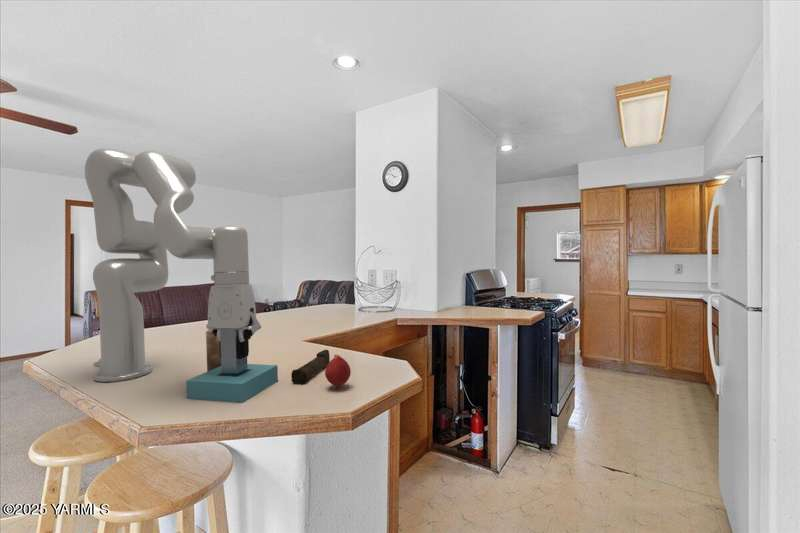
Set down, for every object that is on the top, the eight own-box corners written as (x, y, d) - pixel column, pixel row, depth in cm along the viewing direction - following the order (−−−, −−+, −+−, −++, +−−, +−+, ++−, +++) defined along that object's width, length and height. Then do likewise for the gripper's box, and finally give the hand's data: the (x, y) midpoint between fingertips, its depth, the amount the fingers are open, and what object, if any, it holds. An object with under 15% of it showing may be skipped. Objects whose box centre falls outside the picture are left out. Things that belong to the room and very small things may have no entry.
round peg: (201, 378, 96) (200, 332, 96) (218, 371, 102) (217, 327, 102) (223, 379, 95) (221, 333, 94) (239, 372, 101) (237, 328, 101)
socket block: (186, 398, 82) (186, 380, 82) (229, 378, 96) (228, 362, 95) (242, 402, 79) (241, 383, 79) (277, 381, 93) (277, 365, 92)
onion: (341, 381, 91) (340, 349, 91) (355, 387, 87) (355, 353, 87) (321, 388, 87) (320, 354, 87) (335, 394, 83) (334, 358, 83)
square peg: (221, 372, 86) (219, 321, 85) (232, 367, 89) (231, 318, 89) (236, 373, 85) (235, 321, 84) (247, 368, 89) (245, 318, 88)
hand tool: (305, 386, 89) (305, 366, 89) (290, 384, 90) (290, 366, 90) (337, 364, 108) (337, 348, 108) (325, 363, 109) (324, 347, 109)
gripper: (189, 281, 85) (191, 360, 85) (253, 280, 81) (256, 363, 82) (212, 279, 92) (214, 352, 93) (272, 278, 89) (275, 354, 89)
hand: (234, 356), depth 87 cm, fingers closed on square peg, 4 cm apart
